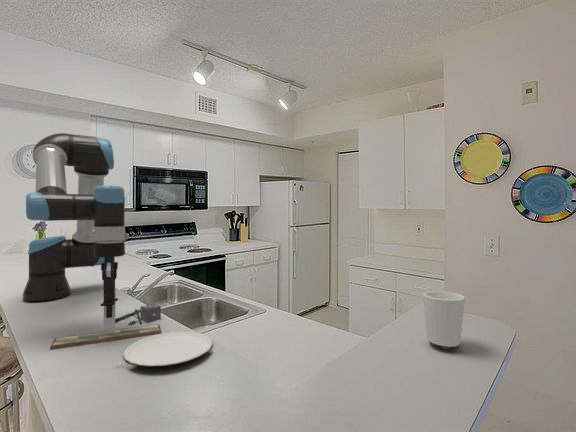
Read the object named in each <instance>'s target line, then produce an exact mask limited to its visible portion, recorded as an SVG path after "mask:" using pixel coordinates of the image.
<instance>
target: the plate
mask: <svg viewBox="0 0 576 432" xmlns="http://www.w3.org/2000/svg"><path fill="white" fill-rule="evenodd" d="M212 346H213V340H212V339H211V337H209V336H208V335H206V334H204V333H201V332H194V331H193V332H192V331H171V332H164V333H160V334H153V335H149V336H147V337H144V338H142V339H138V340H136V341H135V342H133V343H132V344H130V345H128V347H127V348H126V349H125V350H124V352H123V357H124V360H125V361H126V362H128V363H129V364H131V365H134V366H139V367H147V368H155V367H156V368H158V367H168V366H175V365H181V364H183V363H184V364H185V363H188V362H191V361H194V360H196V359H198V358H200V357H202V356H203V355H206V354H207V353H208V352H209V351H210V350H211V349H212Z"/></svg>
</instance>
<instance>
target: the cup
mask: <svg viewBox="0 0 576 432" xmlns="http://www.w3.org/2000/svg"><path fill="white" fill-rule="evenodd" d="M422 299H423V300H422V301H423V308H424V317H425V318H424V319H425V328H426V337H427V340H428V343H429V344H430V346H433V347H436V346H439V347H440V348H441V349H443V350H449V348H452V349H459V348H460V346H461V339H462V332H463V331H462V330H463V320H464V313H465V312H464V310H465V301H466V297H465V296H464V295H462V294H460V293H456V292H452V291H451V292H450V291H442V290H441V291H440V290H439V291H438V290H432V291H426V292H423V293H422Z"/></svg>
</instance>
